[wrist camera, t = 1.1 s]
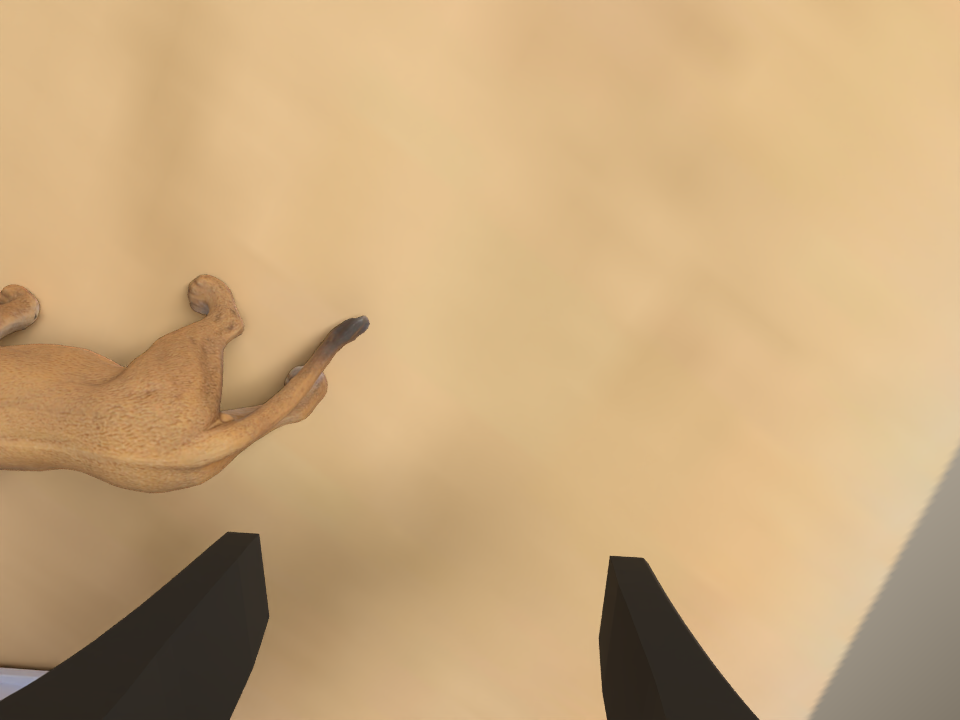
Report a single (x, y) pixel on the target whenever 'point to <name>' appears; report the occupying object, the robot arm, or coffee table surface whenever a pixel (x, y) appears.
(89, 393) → the lion figurine
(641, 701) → the robot arm
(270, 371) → the coffee table surface
